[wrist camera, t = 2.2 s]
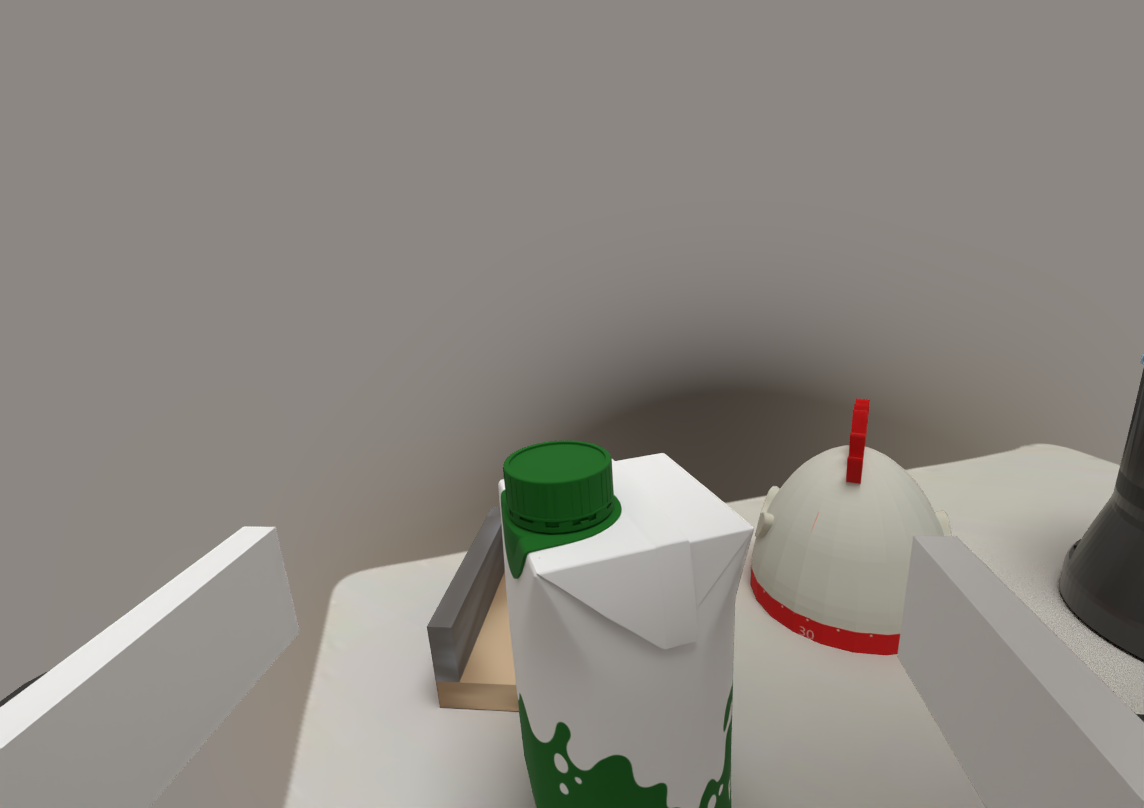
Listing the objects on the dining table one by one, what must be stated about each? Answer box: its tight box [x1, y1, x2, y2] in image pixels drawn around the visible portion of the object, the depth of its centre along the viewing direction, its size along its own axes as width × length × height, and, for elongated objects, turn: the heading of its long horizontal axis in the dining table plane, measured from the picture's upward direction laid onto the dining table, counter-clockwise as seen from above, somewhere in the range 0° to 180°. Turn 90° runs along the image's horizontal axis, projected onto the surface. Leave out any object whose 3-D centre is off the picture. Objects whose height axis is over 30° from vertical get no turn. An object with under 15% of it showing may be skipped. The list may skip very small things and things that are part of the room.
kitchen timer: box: [751, 399, 952, 655], centre depth 42 cm, size 14×14×15 cm
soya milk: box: [499, 441, 754, 808], centre depth 24 cm, size 9×9×20 cm
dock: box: [427, 508, 519, 711], centre depth 41 cm, size 16×15×6 cm
